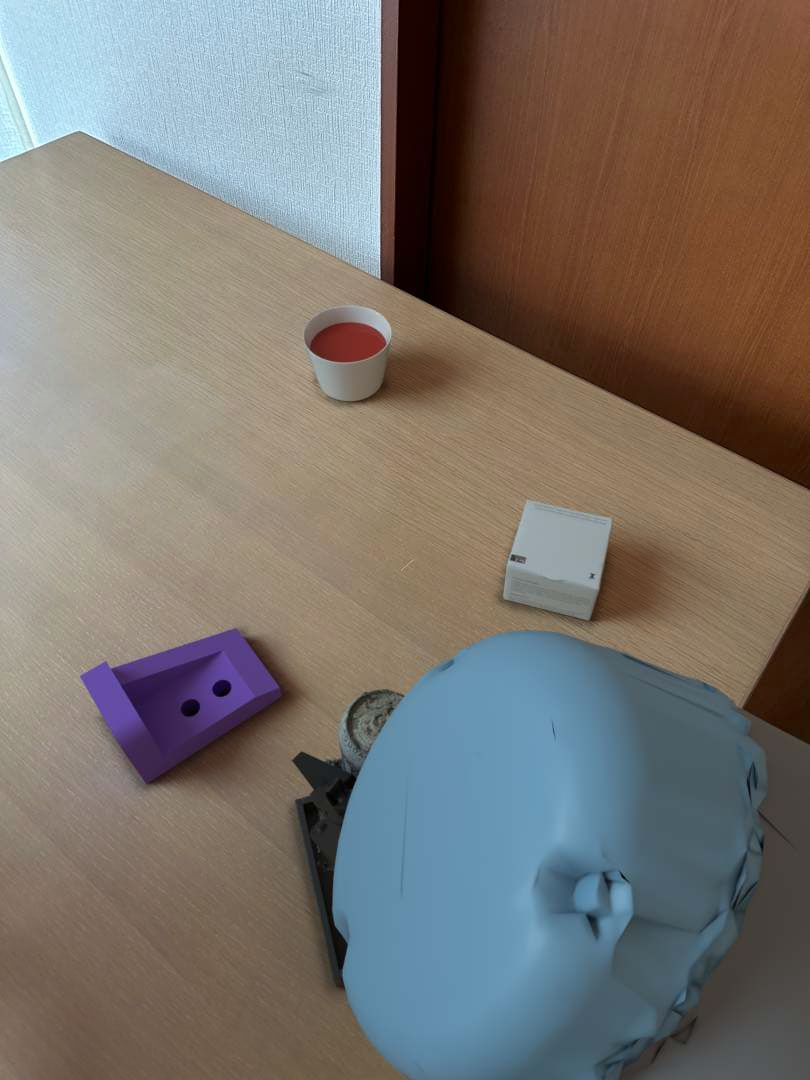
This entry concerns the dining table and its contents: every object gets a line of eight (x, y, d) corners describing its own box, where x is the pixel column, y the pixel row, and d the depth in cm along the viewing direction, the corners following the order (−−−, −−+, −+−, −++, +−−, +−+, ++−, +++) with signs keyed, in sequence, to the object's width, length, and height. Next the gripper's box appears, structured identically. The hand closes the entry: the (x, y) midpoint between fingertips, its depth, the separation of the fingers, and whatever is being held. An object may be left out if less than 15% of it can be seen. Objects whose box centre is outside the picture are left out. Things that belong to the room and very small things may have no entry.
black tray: (336, 987, 54) (333, 980, 52) (298, 811, 61) (294, 799, 59) (509, 931, 56) (512, 922, 54) (453, 767, 63) (454, 753, 61)
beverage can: (437, 734, 53) (432, 642, 43) (475, 854, 48) (479, 782, 39) (298, 773, 52) (261, 689, 42) (324, 900, 47) (289, 838, 38)
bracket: (146, 784, 62) (120, 747, 57) (107, 716, 66) (79, 676, 60) (282, 696, 67) (270, 654, 61) (239, 637, 70) (224, 592, 65)
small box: (605, 552, 75) (616, 517, 71) (589, 623, 71) (600, 590, 66) (520, 532, 76) (526, 496, 72) (500, 600, 72) (505, 566, 68)
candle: (394, 352, 92) (393, 305, 87) (391, 410, 86) (390, 363, 81) (312, 352, 92) (306, 305, 87) (305, 409, 86) (298, 362, 81)
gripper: (530, 1149, 26) (264, 900, 46) (800, 760, 34) (470, 692, 54) (406, 990, 24) (185, 802, 44) (723, 614, 32) (410, 600, 52)
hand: (342, 742), depth 49 cm, fingers closed on beverage can, 4 cm apart
